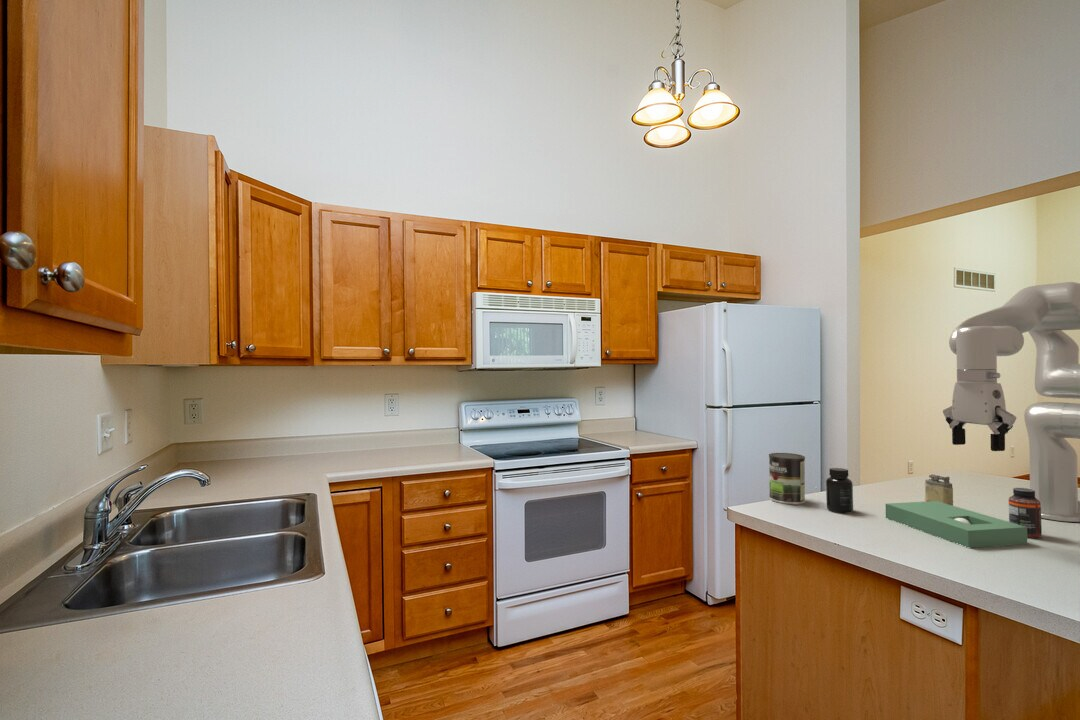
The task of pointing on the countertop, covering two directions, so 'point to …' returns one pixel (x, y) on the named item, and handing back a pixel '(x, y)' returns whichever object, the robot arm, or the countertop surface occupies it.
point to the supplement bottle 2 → (1026, 511)
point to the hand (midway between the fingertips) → (977, 447)
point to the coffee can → (787, 478)
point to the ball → (962, 520)
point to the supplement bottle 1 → (839, 491)
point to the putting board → (957, 524)
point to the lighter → (939, 489)
